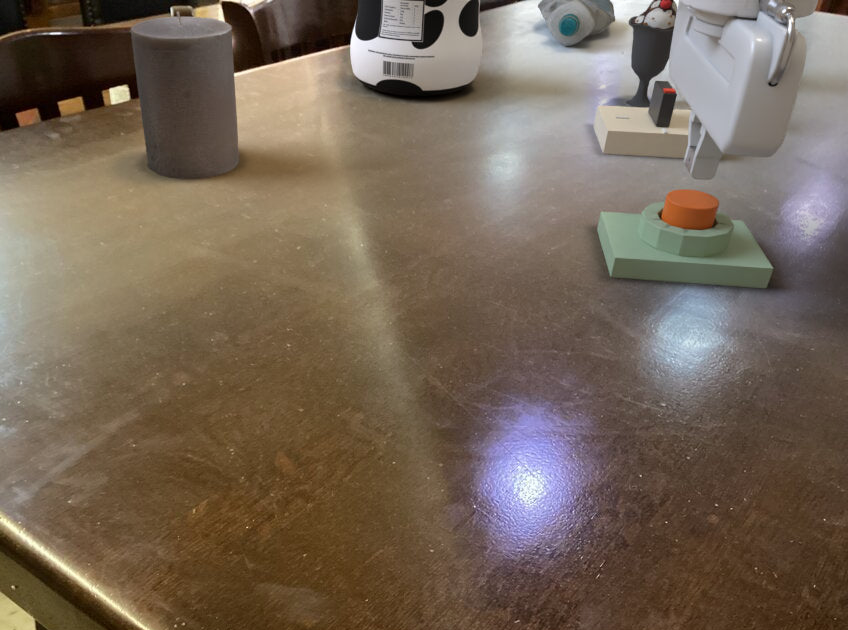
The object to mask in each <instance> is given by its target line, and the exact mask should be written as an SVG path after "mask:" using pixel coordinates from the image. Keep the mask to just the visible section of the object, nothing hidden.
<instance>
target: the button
mask: <svg viewBox="0 0 848 630" xmlns="http://www.w3.org/2000/svg"><path fill="white" fill-rule="evenodd" d="M664 201H665V204H664V208H663V212H662V216H661V220H662V221H664V222H665V223H667V224H669V225H671V226H675V227H679V228H683V229H689V230H706V229H711V228H712V226H713V223H714V220H715V216H716V213H717V210H718V211H719V207H720V201H719V199H718V198H717V197H715V196H714V195H712V194H710V193H707V192H704V191H702V190H701V191H700V190H696V189H685V188H684V189H682V188H681V189H675V190H671V191H669V192H668V193H667V194H666V197H665V200H664Z"/></svg>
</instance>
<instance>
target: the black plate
mask: <svg viewBox="0 0 848 630" xmlns="http://www.w3.org/2000/svg"><path fill="white" fill-rule="evenodd" d="M677 97H678V93H677V91H676V89H675V88H674V87H673V86H672V84H671V83H670V82H669V80H655V81H654V85H653V89H652V92H651V97H650V100H649V101H650V106H649V107H648V108H649V110H648V113H649V115H650V117H651V118H652V120H653V122H654V124H655V126H658V127H669V125H670V121H671V117H672V113H673V109H675V105H676V102H677V101H676V100H677Z"/></svg>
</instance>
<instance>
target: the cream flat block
mask: <svg viewBox="0 0 848 630" xmlns="http://www.w3.org/2000/svg"><path fill="white" fill-rule="evenodd" d="M648 110H649V107H647V108H642V107H634V106H622V105H621V106H620V105H602V104H601V105H599V104H597V106H596V112H595V115H594V116H595V117H594V120H593V121H594V122H593V130H594V133H595V136H596V139H597V141H598V144H599V146H600V147H599V148H600V149H601V152H602V154H603V155H621V156H638V157H654V158H670V159H671V158H672V159H684V158H685V154H686V150H687V146H688V132H689V117H690V113H691V109H680V108H674V109H673V113H672V117H671V121H670V125H669V127H658V126H655V124H654V122H653V120H652V118H651V117H650V115H649V113H648Z"/></svg>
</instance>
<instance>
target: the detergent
mask: <svg viewBox="0 0 848 630" xmlns="http://www.w3.org/2000/svg"><path fill="white" fill-rule="evenodd" d="M537 8H538V9H539V11H540V13H541V15H542V17H543V19H544V20H545V21H546V25H547V27H548V29H549V32H550V33H551V34H552V36H553V38H555V40H556V41H557V42H559V44H561V45H563V46H564V47H571V46H574V45H577V43H580V42H581V41H582V40H584V39H585V38H586V37H588V36H596V35H598V34H600V33H602V32H603V31H605V30H606V29H607V28H608V27H609V26H611V24H613V23H614V22H615V21H616V15H615V7H614V4H613V2H612V1H611V0H541V1H540V2H539V3H538V4H537Z"/></svg>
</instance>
